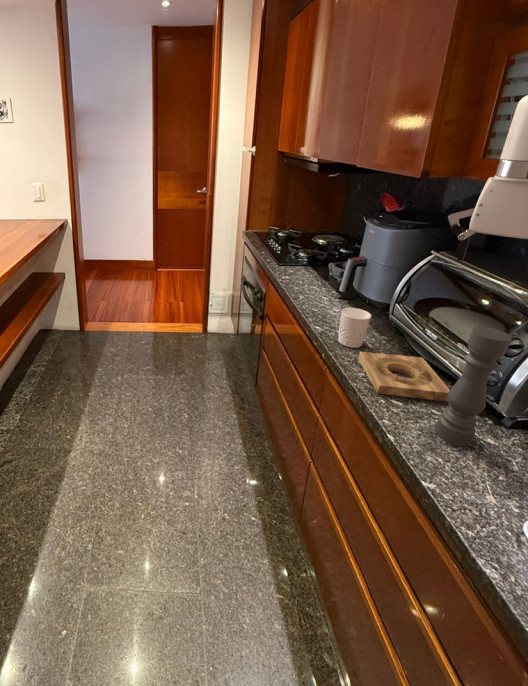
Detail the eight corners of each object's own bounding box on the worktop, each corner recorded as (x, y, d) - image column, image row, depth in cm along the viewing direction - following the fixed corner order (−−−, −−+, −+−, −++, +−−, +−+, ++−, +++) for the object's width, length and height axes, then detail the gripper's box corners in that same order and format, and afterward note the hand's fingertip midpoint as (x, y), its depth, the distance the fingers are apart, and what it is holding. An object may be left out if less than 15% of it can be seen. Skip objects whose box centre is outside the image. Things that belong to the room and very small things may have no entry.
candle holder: (438, 421, 87) (473, 322, 77) (472, 435, 83) (514, 333, 73) (431, 435, 83) (468, 333, 73) (467, 451, 79) (511, 345, 69)
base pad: (420, 365, 108) (422, 357, 107) (449, 401, 93) (452, 393, 92) (358, 358, 111) (359, 351, 110) (377, 393, 96) (379, 385, 95)
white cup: (340, 347, 116) (346, 318, 112) (332, 335, 123) (338, 306, 120) (368, 350, 115) (375, 320, 111) (359, 337, 122) (365, 308, 118)
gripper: (597, 173, 64) (556, 270, 70) (466, 167, 75) (441, 251, 82) (598, 176, 59) (555, 281, 65) (458, 169, 71) (433, 259, 77)
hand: (492, 264), depth 74 cm, fingers open, 9 cm apart
